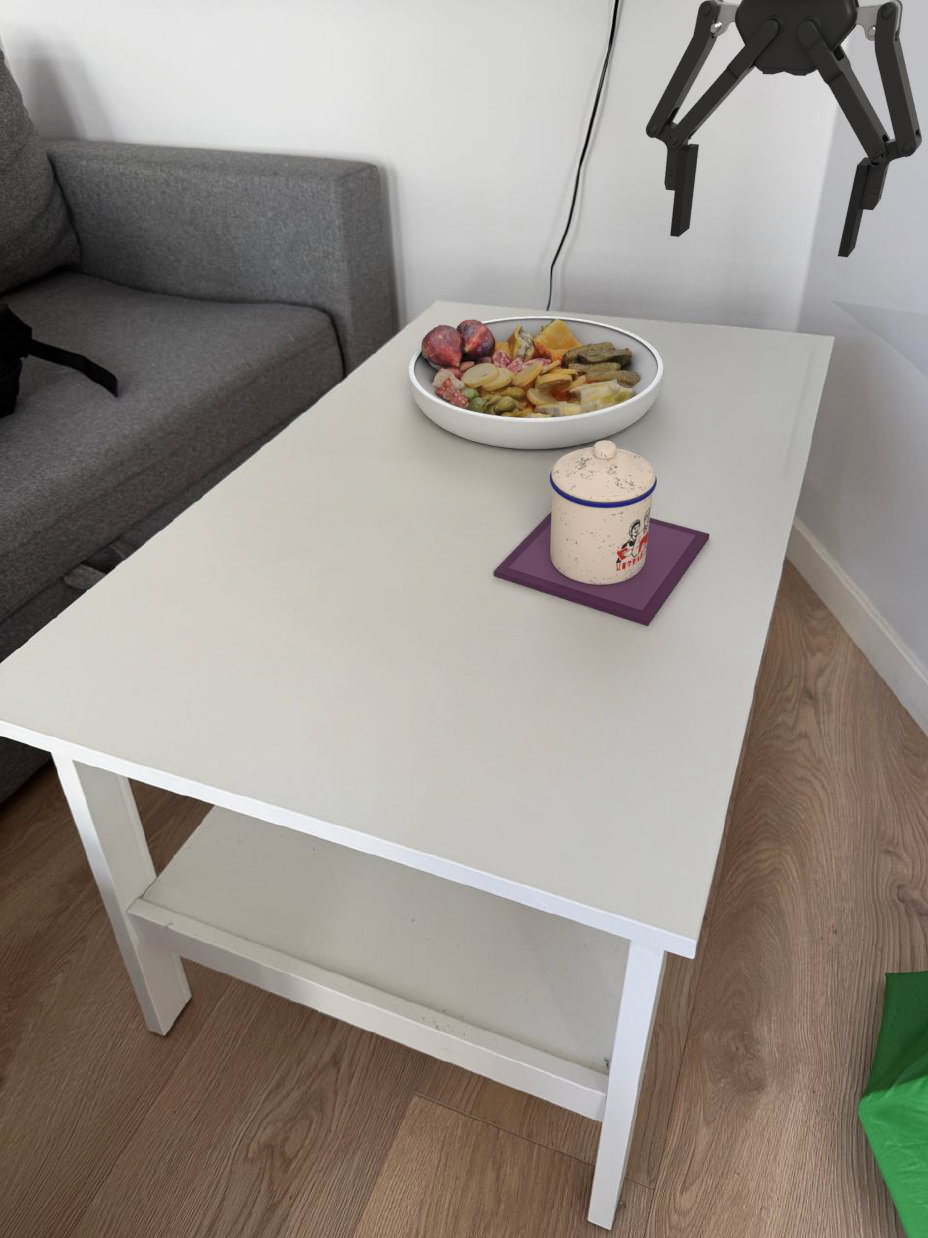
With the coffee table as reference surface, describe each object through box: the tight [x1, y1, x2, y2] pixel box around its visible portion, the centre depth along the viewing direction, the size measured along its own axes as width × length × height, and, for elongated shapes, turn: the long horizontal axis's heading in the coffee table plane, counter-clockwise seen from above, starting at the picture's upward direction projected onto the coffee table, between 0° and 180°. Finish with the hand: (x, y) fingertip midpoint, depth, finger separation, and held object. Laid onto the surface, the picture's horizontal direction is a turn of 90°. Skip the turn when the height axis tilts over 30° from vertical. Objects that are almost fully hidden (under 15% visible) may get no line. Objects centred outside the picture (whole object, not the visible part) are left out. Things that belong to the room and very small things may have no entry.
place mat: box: [493, 510, 710, 627], centre depth 85 cm, size 15×15×1 cm
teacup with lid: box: [549, 439, 658, 585], centre depth 81 cm, size 12×9×12 cm
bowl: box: [407, 315, 665, 450], centre depth 109 cm, size 30×30×8 cm
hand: (759, 242), depth 75 cm, fingers open, 13 cm apart
